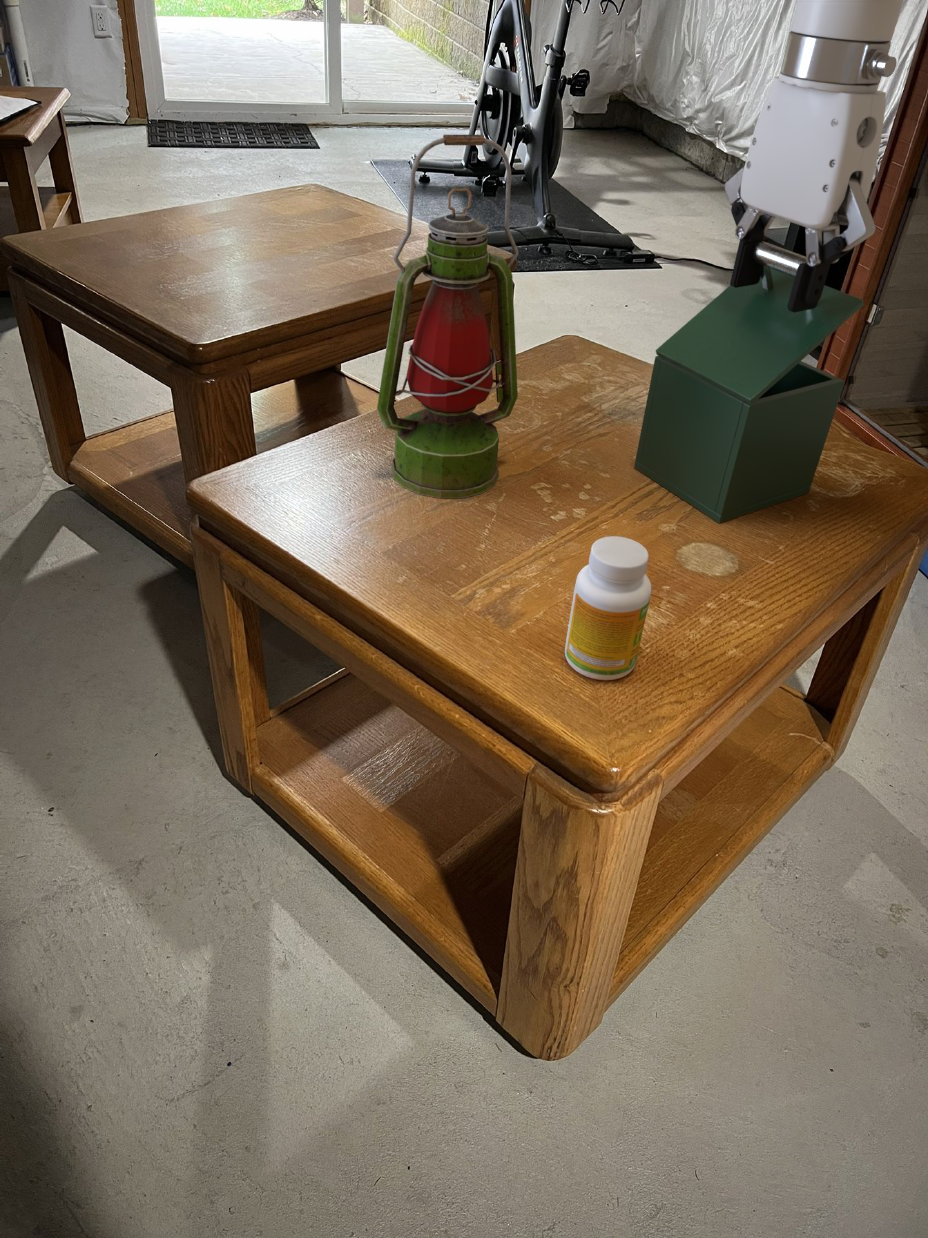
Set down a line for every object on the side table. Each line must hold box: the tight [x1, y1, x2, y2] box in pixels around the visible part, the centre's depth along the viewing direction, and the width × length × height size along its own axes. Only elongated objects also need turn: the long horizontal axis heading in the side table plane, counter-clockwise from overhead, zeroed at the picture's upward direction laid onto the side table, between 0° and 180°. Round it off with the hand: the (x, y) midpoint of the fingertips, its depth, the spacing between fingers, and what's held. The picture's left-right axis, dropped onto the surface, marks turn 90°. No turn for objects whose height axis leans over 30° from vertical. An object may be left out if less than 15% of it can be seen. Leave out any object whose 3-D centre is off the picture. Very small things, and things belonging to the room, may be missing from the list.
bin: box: [633, 355, 846, 524], centre depth 90 cm, size 13×12×12 cm
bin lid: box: [655, 241, 864, 404], centre depth 82 cm, size 14×12×5 cm
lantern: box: [376, 134, 519, 499], centre depth 83 cm, size 14×11×30 cm
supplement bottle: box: [564, 535, 652, 681], centre depth 67 cm, size 5×5×10 cm
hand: (772, 294), depth 83 cm, fingers closed on bin lid, 6 cm apart
